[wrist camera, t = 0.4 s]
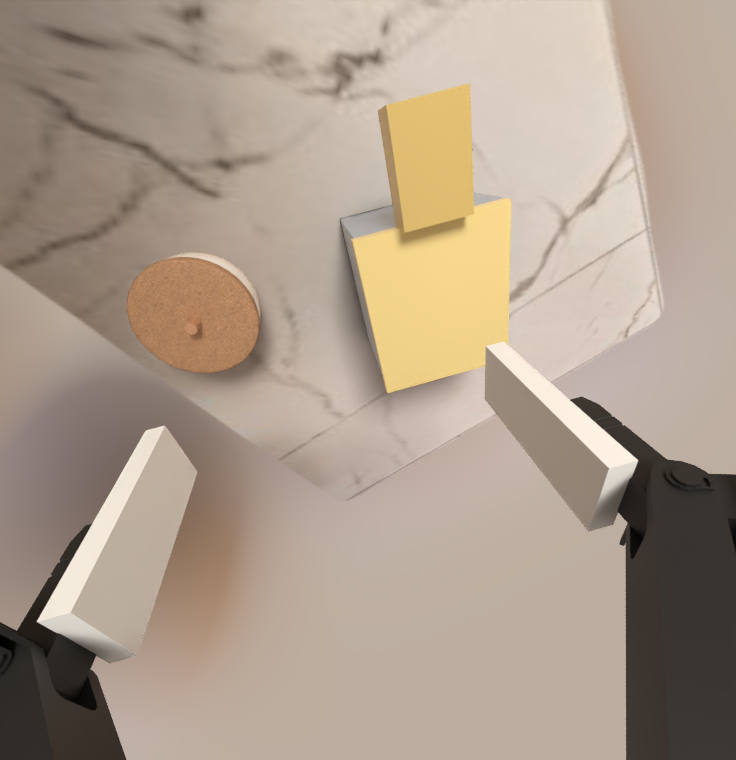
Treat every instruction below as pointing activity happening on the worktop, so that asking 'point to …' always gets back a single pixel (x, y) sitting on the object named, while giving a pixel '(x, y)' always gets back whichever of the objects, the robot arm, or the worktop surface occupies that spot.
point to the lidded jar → (195, 312)
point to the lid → (434, 248)
